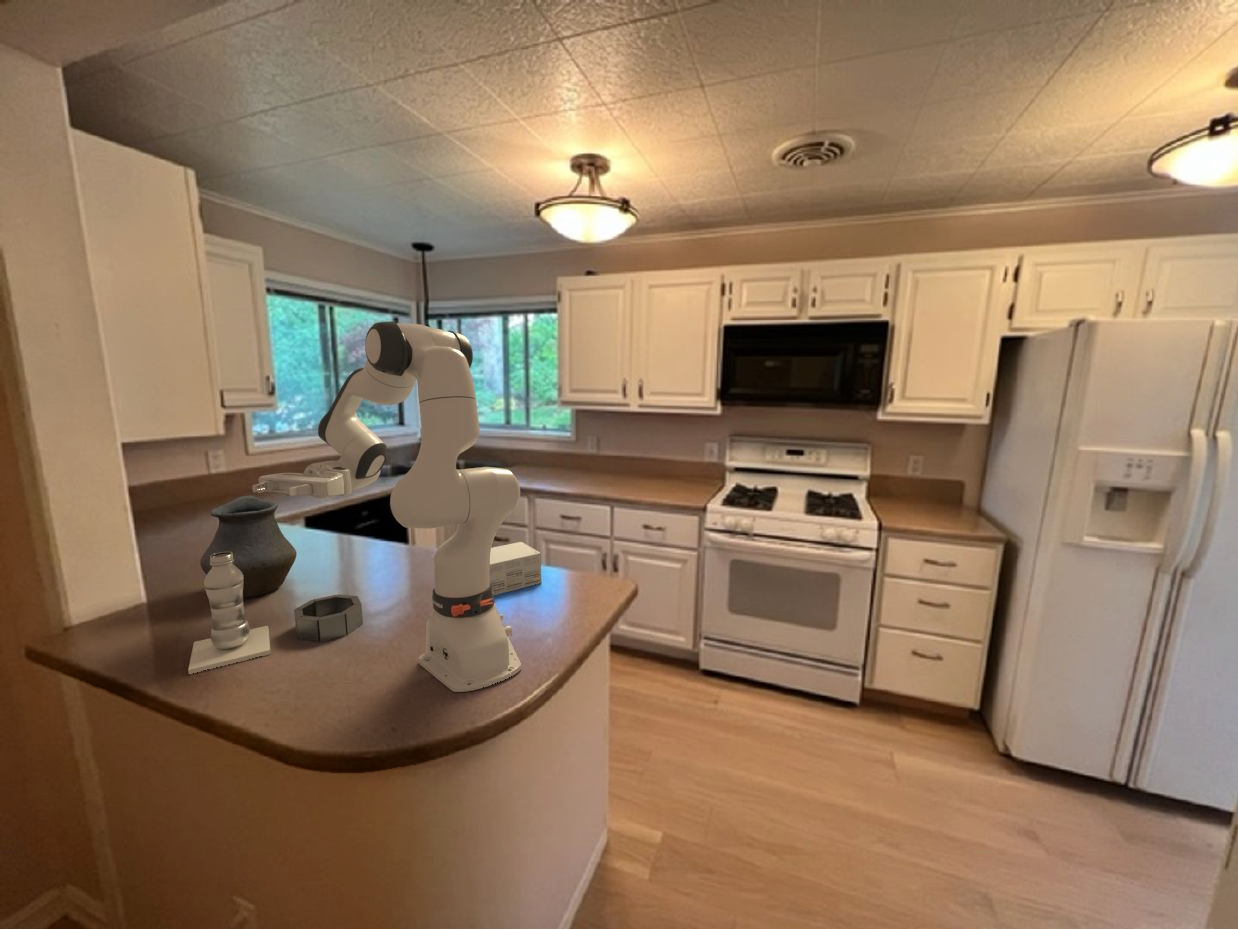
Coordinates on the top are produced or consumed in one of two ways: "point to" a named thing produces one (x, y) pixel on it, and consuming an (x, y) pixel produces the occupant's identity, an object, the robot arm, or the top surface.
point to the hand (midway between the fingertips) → (271, 490)
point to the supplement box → (514, 567)
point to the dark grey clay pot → (252, 544)
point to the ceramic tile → (229, 651)
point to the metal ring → (328, 618)
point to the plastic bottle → (226, 602)
